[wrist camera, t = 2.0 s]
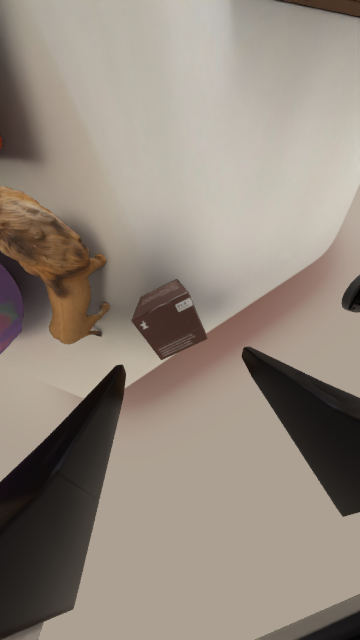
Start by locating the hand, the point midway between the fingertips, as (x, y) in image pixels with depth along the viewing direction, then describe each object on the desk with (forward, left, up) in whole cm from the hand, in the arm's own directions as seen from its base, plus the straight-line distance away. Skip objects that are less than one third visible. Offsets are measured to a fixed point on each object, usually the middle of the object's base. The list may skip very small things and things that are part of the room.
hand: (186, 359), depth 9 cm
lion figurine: (+11, -4, -12) cm, 16 cm away
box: (+1, 0, -12) cm, 12 cm away
